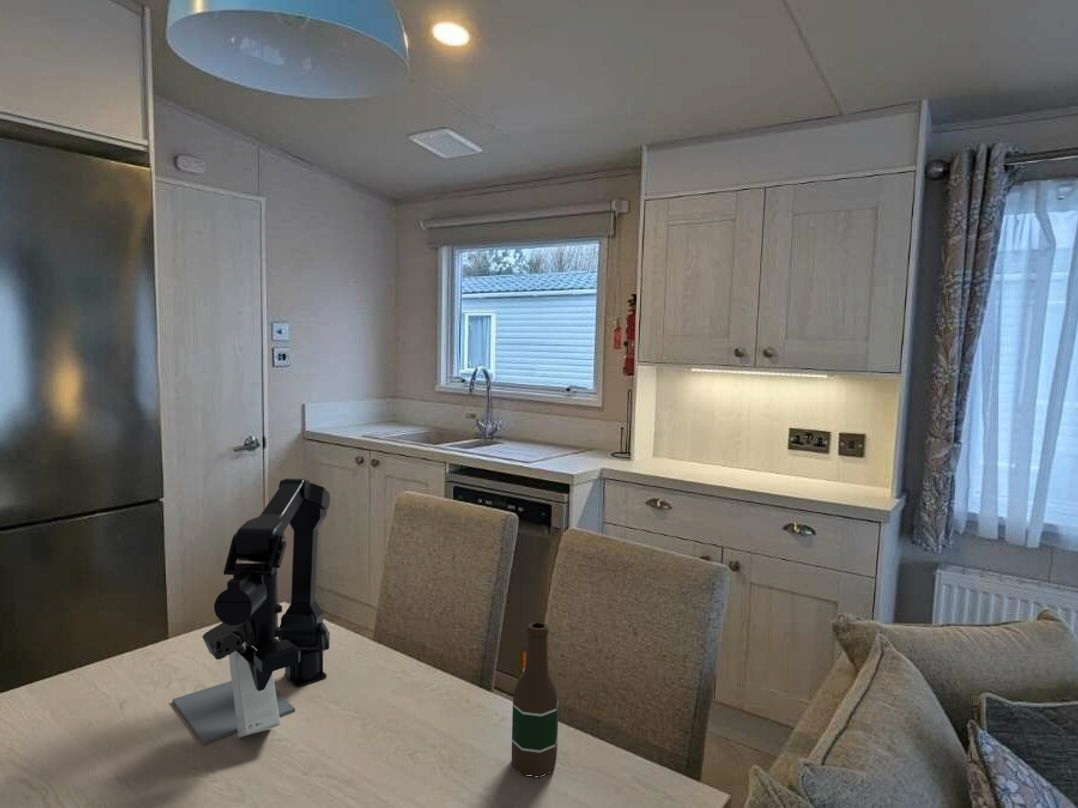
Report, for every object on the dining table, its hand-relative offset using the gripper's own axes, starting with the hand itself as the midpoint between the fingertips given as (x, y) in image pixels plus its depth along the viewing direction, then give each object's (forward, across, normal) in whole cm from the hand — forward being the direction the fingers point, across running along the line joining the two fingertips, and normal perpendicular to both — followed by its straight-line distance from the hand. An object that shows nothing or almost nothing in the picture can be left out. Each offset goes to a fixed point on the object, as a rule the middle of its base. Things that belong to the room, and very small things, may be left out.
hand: (260, 689), depth 114 cm
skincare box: (+8, -1, 0) cm, 8 cm away
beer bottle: (+10, +35, +32) cm, 48 cm away
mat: (+10, -16, +1) cm, 19 cm away
